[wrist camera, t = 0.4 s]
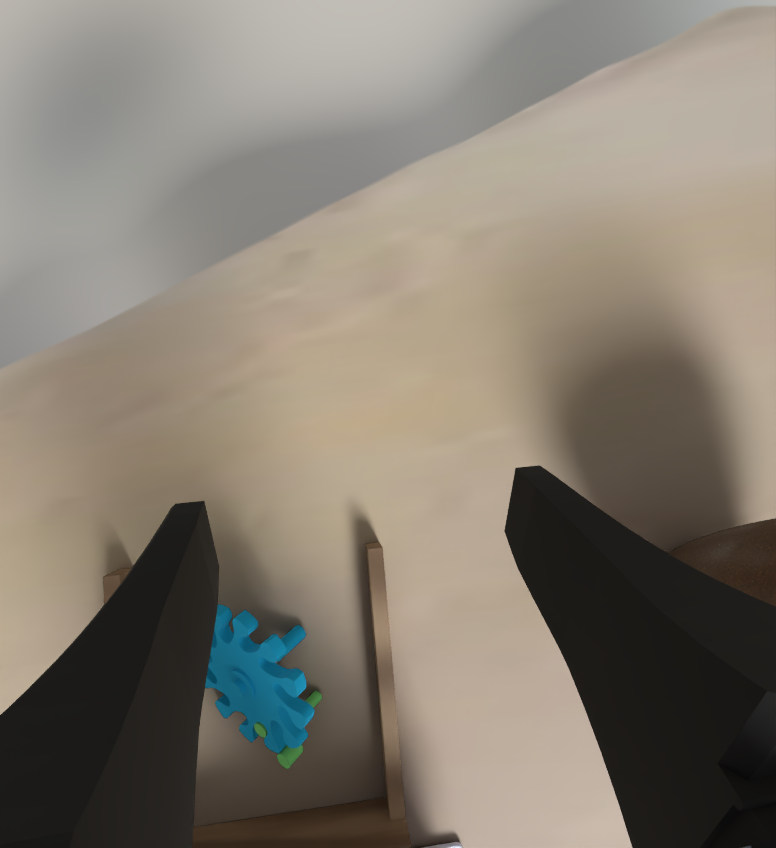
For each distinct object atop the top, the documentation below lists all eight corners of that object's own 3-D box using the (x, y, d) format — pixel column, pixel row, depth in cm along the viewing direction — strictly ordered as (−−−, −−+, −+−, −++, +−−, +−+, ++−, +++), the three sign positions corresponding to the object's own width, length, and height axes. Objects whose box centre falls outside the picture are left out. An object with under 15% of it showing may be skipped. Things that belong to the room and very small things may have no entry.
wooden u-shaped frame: (402, 817, 38) (413, 870, 33) (133, 860, 36) (101, 924, 31) (379, 542, 39) (386, 553, 34) (118, 569, 37) (85, 585, 32)
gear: (161, 618, 36) (253, 616, 29) (230, 572, 40) (322, 561, 34) (227, 763, 37) (330, 789, 31) (287, 701, 41) (386, 713, 35)
